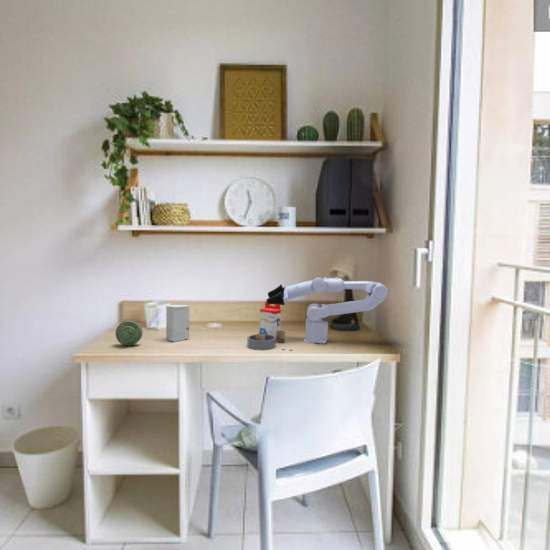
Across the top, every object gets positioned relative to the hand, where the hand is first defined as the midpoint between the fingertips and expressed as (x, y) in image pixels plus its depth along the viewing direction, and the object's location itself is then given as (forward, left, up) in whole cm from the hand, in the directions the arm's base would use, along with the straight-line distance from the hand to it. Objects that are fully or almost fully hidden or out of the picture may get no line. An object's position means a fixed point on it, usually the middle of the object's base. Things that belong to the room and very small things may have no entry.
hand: (267, 298), depth 178 cm
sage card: (-12, +17, -18) cm, 27 cm away
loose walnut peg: (-7, +6, -18) cm, 20 cm away
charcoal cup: (-1, +14, -18) cm, 23 cm away
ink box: (+1, -9, -18) cm, 20 cm away
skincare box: (+37, +11, -18) cm, 43 cm away
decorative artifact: (+51, +27, -18) cm, 60 cm away
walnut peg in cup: (-1, +16, -17) cm, 24 cm away
